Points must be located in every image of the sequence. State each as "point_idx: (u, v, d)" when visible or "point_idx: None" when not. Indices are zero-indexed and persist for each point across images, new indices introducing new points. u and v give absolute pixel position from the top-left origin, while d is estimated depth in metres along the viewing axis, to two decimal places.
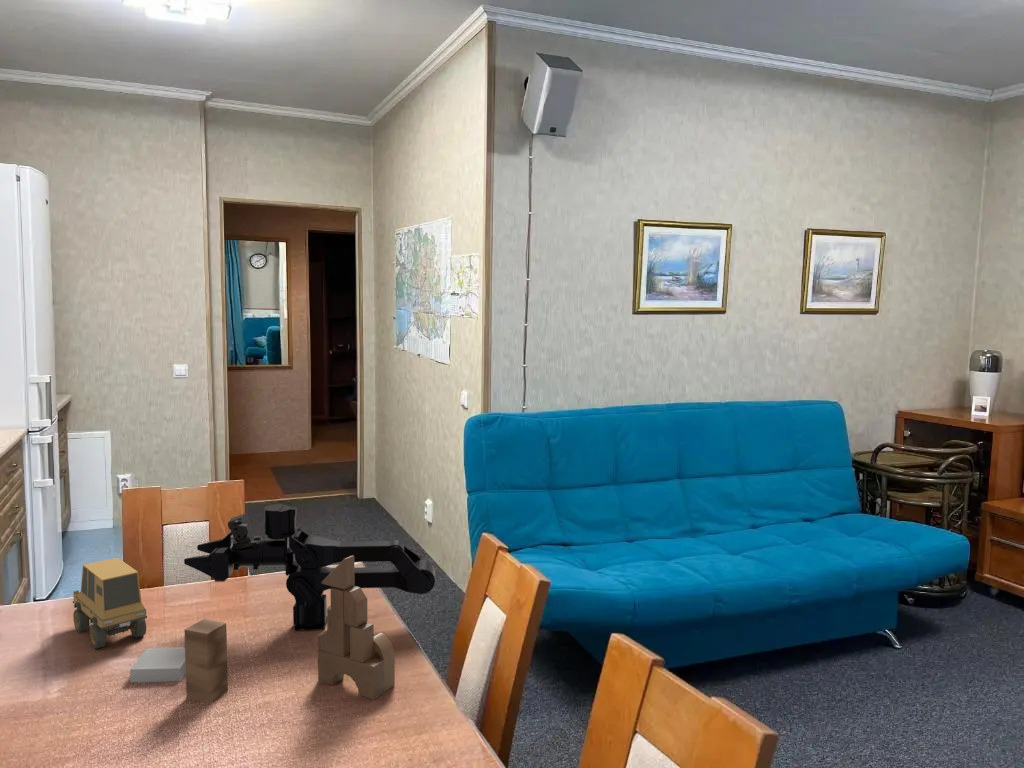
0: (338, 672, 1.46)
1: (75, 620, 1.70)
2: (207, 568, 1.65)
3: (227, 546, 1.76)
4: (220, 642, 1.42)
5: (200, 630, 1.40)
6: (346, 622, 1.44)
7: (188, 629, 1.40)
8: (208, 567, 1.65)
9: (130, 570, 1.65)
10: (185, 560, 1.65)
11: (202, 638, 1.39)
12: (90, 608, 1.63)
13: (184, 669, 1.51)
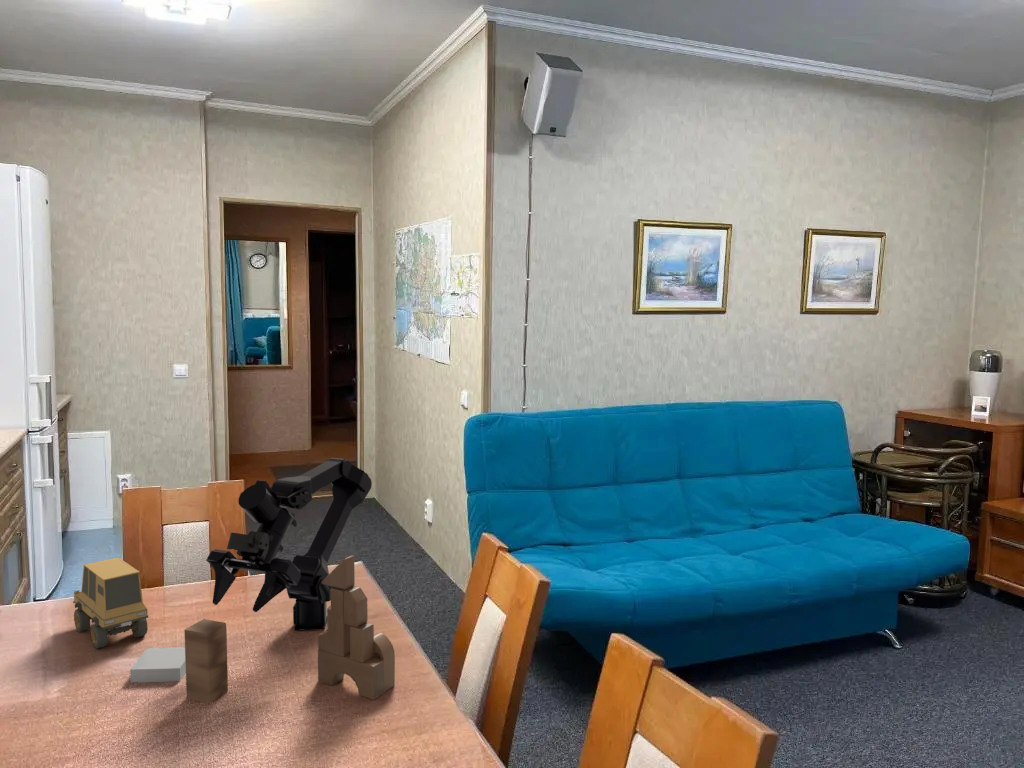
0: (338, 672, 1.46)
1: (76, 620, 1.70)
2: (275, 589, 1.51)
3: (227, 573, 1.55)
4: (220, 642, 1.42)
5: (200, 630, 1.40)
6: (346, 622, 1.44)
7: (188, 629, 1.40)
8: (274, 588, 1.51)
9: (131, 569, 1.65)
10: (255, 609, 1.48)
11: (202, 638, 1.39)
12: (91, 608, 1.64)
13: (184, 669, 1.51)
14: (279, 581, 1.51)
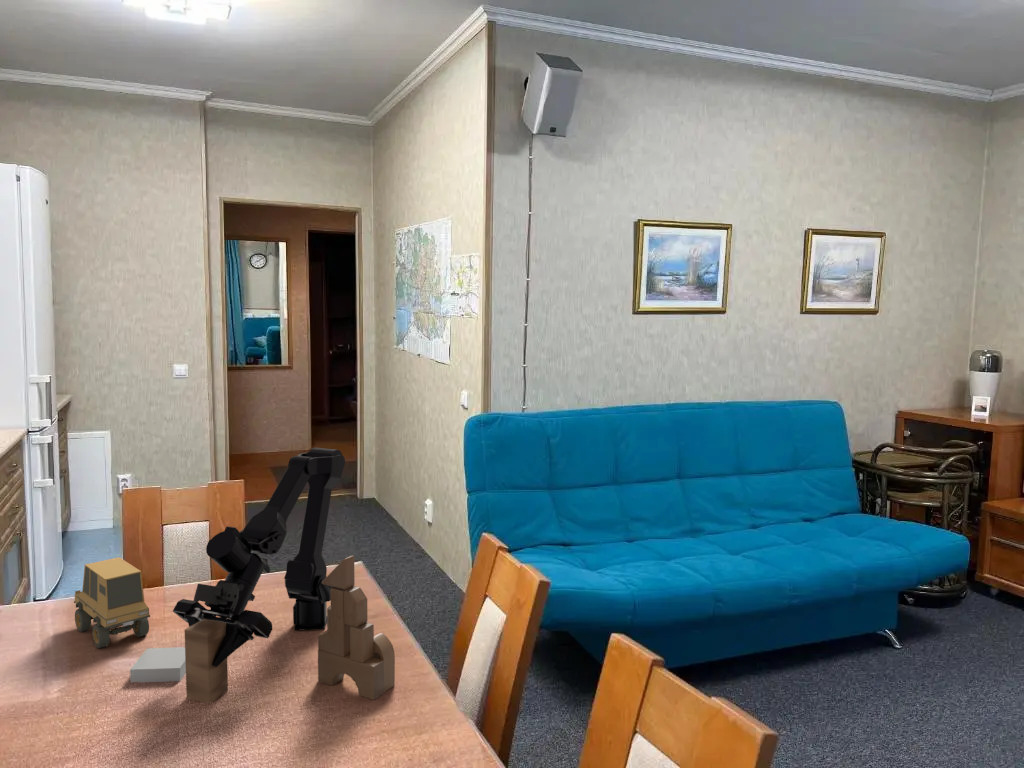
0: (338, 672, 1.46)
1: (76, 620, 1.70)
2: (237, 642, 1.44)
3: None
4: (220, 642, 1.42)
5: (200, 630, 1.40)
6: (346, 622, 1.44)
7: (188, 629, 1.40)
8: (236, 640, 1.44)
9: (132, 569, 1.65)
10: (215, 663, 1.40)
11: (202, 638, 1.39)
12: (92, 608, 1.64)
13: (184, 669, 1.51)
14: (241, 633, 1.43)
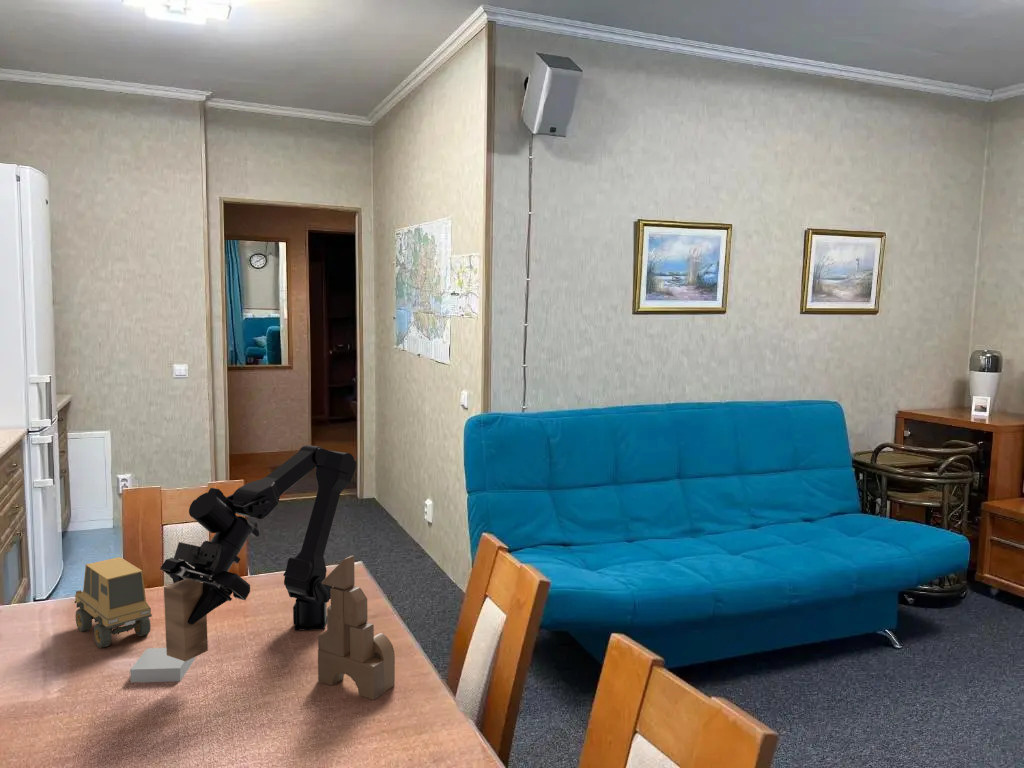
0: (338, 672, 1.46)
1: (77, 620, 1.70)
2: (214, 602, 1.45)
3: None
4: None
5: (177, 588, 1.42)
6: (346, 622, 1.44)
7: (167, 587, 1.43)
8: (214, 600, 1.45)
9: (134, 569, 1.65)
10: (190, 621, 1.42)
11: (178, 596, 1.41)
12: (94, 608, 1.64)
13: (184, 669, 1.51)
14: (218, 593, 1.44)
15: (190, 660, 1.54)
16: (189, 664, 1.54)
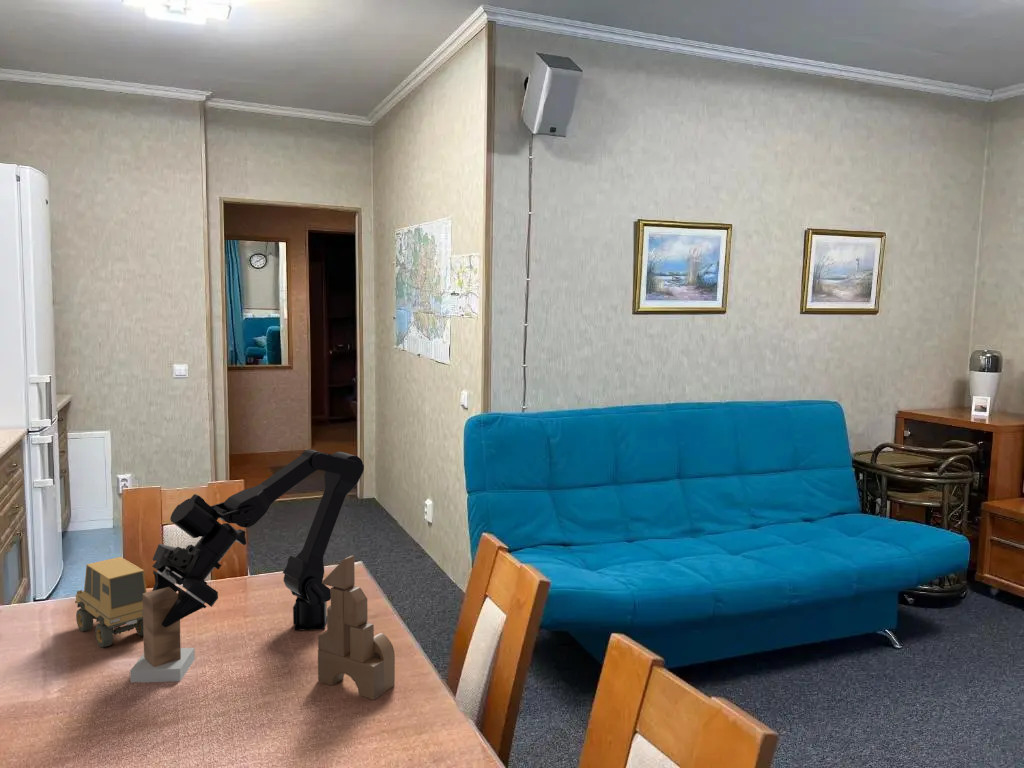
0: (338, 672, 1.46)
1: (78, 620, 1.70)
2: (189, 607, 1.49)
3: (167, 583, 1.56)
4: None
5: (152, 597, 1.49)
6: (346, 622, 1.44)
7: (145, 594, 1.50)
8: (189, 606, 1.49)
9: (135, 568, 1.65)
10: (164, 624, 1.47)
11: (150, 605, 1.47)
12: (95, 607, 1.64)
13: (184, 670, 1.51)
14: None
15: (190, 661, 1.54)
16: (189, 665, 1.54)
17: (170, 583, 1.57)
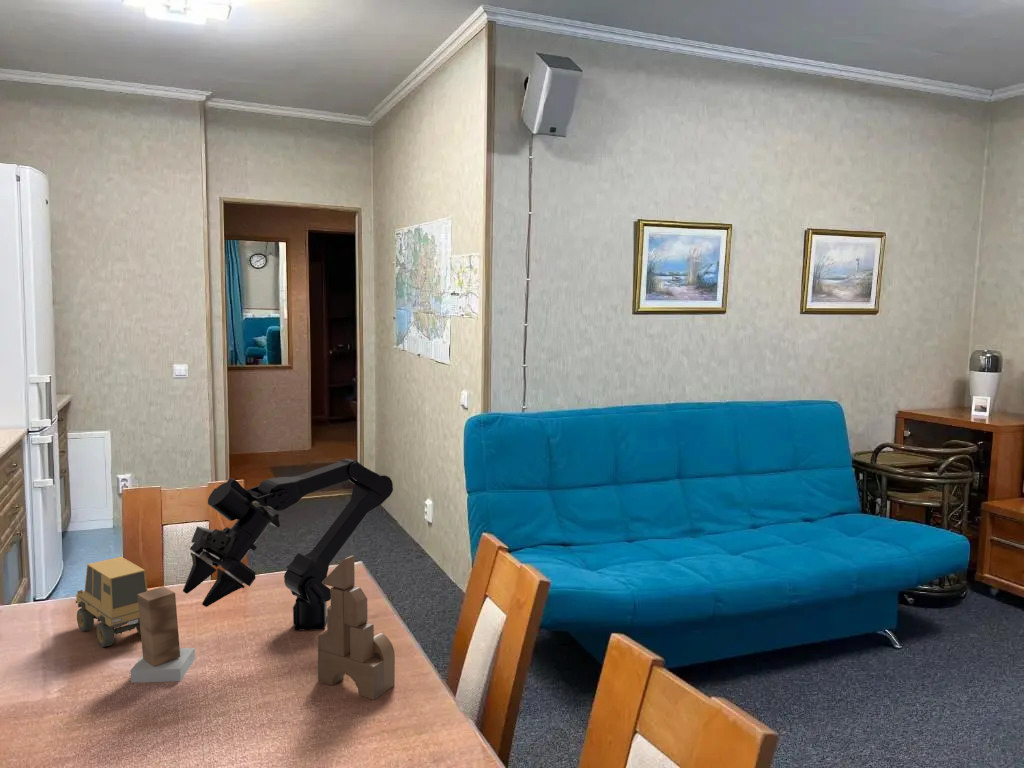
0: (338, 672, 1.46)
1: (79, 620, 1.70)
2: (228, 587, 1.54)
3: (204, 565, 1.61)
4: (167, 610, 1.50)
5: (147, 596, 1.49)
6: (346, 622, 1.44)
7: (140, 594, 1.50)
8: (228, 586, 1.54)
9: (136, 568, 1.66)
10: (204, 604, 1.52)
11: (146, 604, 1.48)
12: (96, 607, 1.64)
13: (184, 670, 1.51)
14: (231, 580, 1.53)
15: (190, 661, 1.54)
16: (189, 665, 1.54)
17: (207, 565, 1.62)
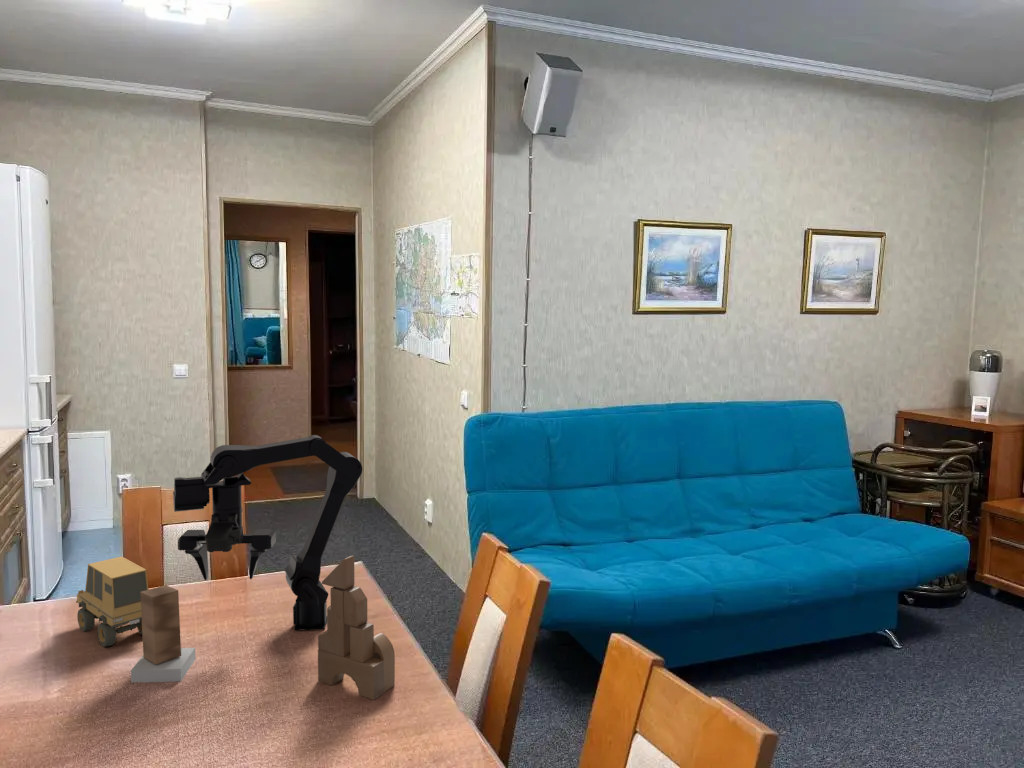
0: (338, 672, 1.46)
1: (79, 619, 1.70)
2: None
3: (203, 550, 1.64)
4: (170, 607, 1.51)
5: (151, 593, 1.50)
6: (346, 622, 1.44)
7: (143, 592, 1.51)
8: None
9: (137, 568, 1.66)
10: (252, 577, 1.66)
11: (150, 601, 1.49)
12: (97, 607, 1.64)
13: (185, 670, 1.51)
14: None
15: (191, 661, 1.54)
16: (190, 665, 1.54)
17: (203, 547, 1.65)
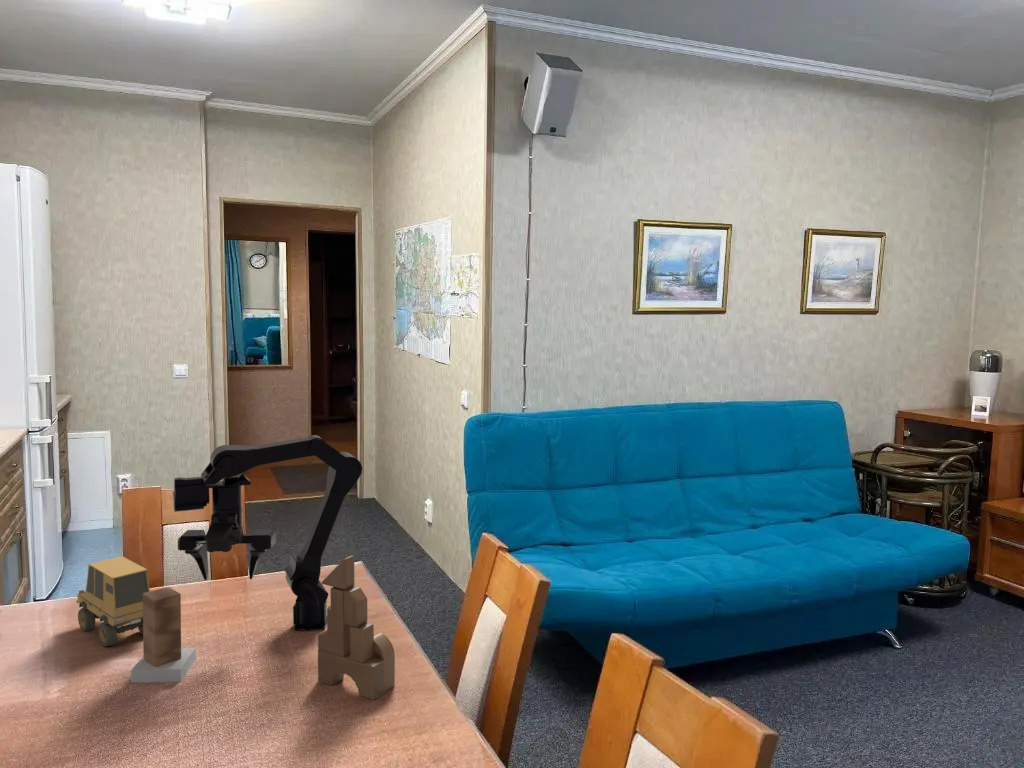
0: (338, 672, 1.46)
1: (80, 619, 1.70)
2: None
3: (203, 550, 1.64)
4: (172, 611, 1.50)
5: (153, 596, 1.49)
6: (346, 622, 1.44)
7: (145, 593, 1.50)
8: None
9: (138, 568, 1.66)
10: (252, 577, 1.66)
11: (151, 604, 1.48)
12: (98, 607, 1.64)
13: (185, 670, 1.51)
14: None
15: (191, 661, 1.54)
16: (190, 665, 1.54)
17: (203, 547, 1.65)
